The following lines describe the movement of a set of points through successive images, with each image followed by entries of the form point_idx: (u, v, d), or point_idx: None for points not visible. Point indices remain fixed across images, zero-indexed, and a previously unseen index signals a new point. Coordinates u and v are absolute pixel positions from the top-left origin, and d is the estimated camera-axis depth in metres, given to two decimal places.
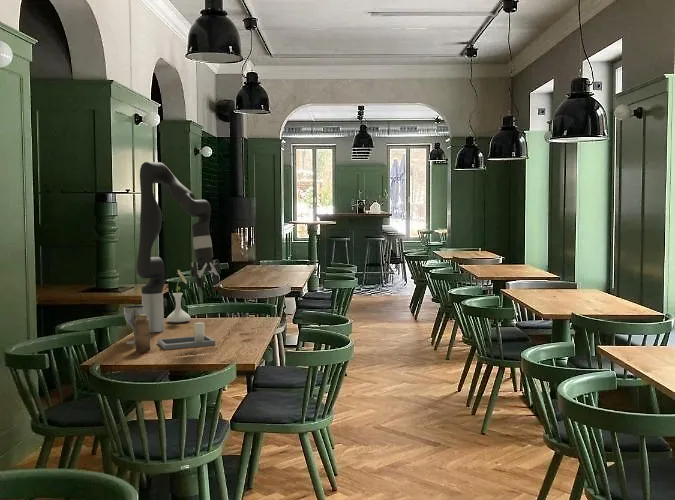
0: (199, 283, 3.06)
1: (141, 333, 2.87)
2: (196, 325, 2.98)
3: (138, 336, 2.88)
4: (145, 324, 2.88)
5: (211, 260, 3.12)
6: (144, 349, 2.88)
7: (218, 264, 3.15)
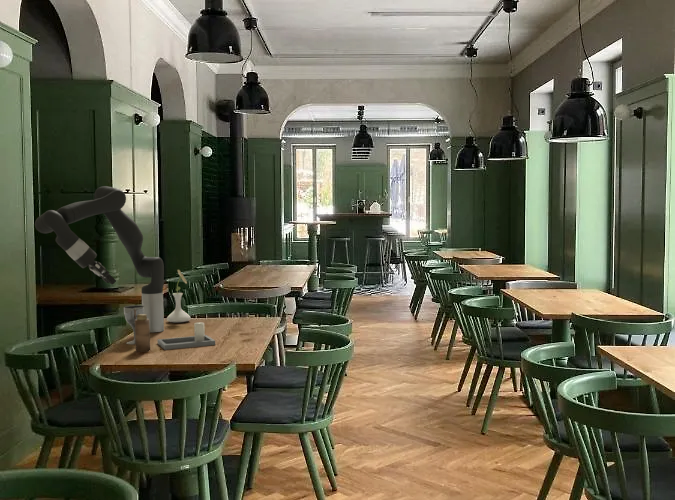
0: None
1: (141, 333, 2.87)
2: (196, 325, 2.98)
3: (138, 336, 2.88)
4: (145, 324, 2.88)
5: (91, 266, 2.82)
6: (144, 349, 2.88)
7: (97, 270, 2.80)
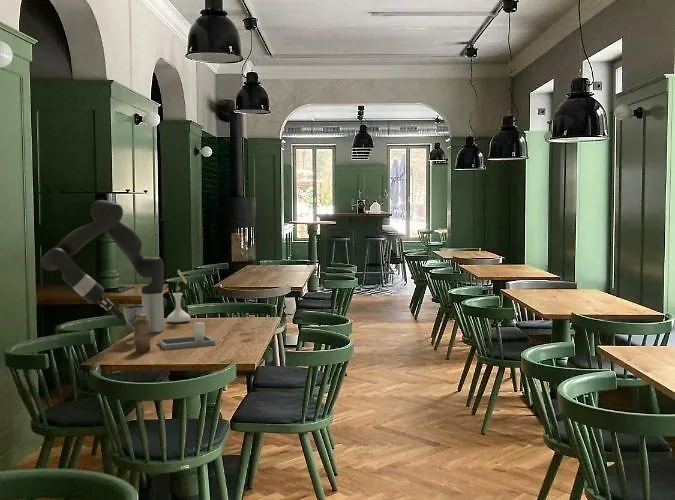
0: None
1: (141, 333, 2.87)
2: (196, 325, 2.98)
3: (138, 336, 2.88)
4: (145, 324, 2.88)
5: (99, 301, 2.80)
6: (144, 349, 2.88)
7: (104, 306, 2.78)
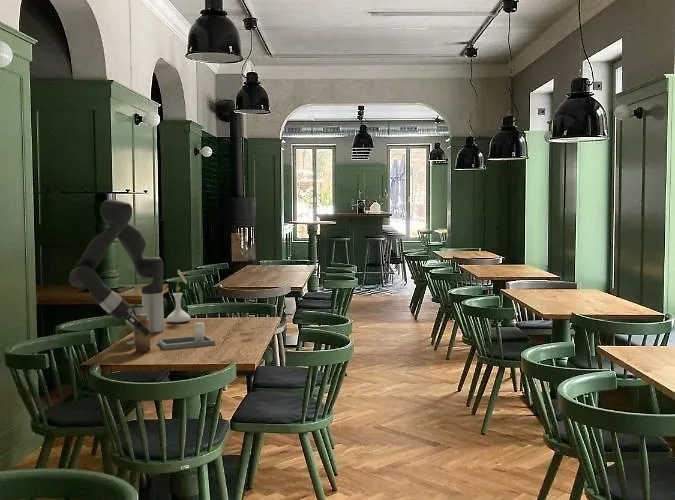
0: None
1: (141, 333, 2.87)
2: (196, 325, 2.98)
3: (138, 336, 2.88)
4: (145, 324, 2.88)
5: (125, 317, 2.84)
6: (144, 349, 2.88)
7: (131, 323, 2.82)
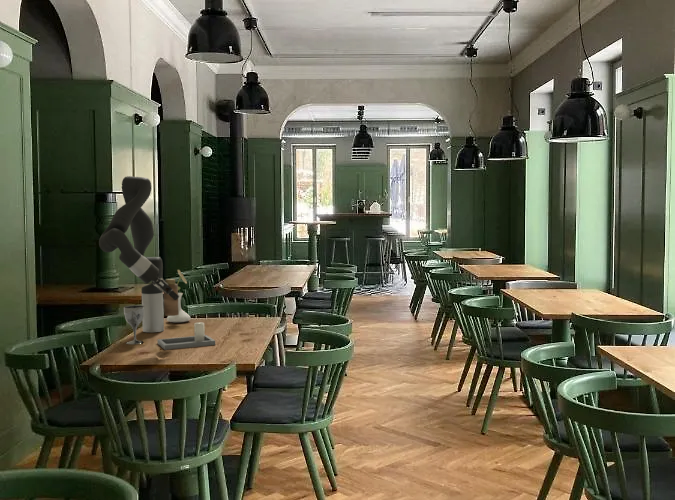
0: None
1: (170, 297, 2.91)
2: (196, 325, 2.98)
3: (167, 300, 2.91)
4: (174, 288, 2.92)
5: (154, 281, 2.88)
6: (173, 313, 2.92)
7: (161, 287, 2.86)
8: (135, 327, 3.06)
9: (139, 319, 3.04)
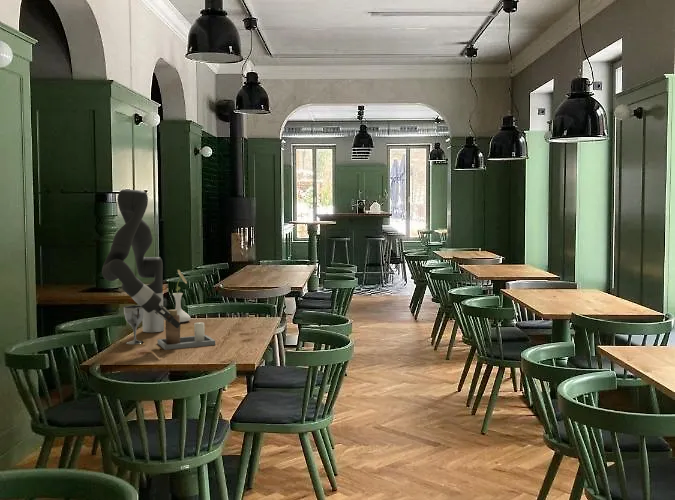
0: None
1: (172, 328, 2.92)
2: (196, 325, 2.98)
3: (169, 331, 2.92)
4: (176, 319, 2.93)
5: (156, 310, 2.89)
6: None
7: (162, 315, 2.87)
8: (135, 327, 3.06)
9: (139, 319, 3.04)
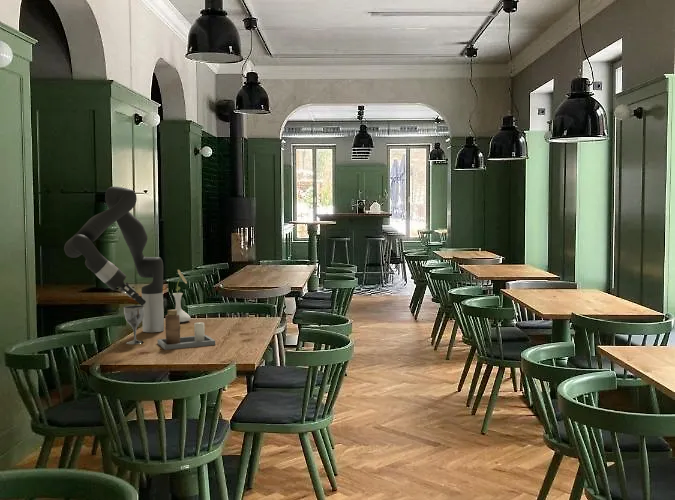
0: None
1: (172, 328, 2.92)
2: (196, 325, 2.98)
3: (169, 331, 2.92)
4: (176, 319, 2.93)
5: (121, 287, 2.83)
6: None
7: (126, 292, 2.81)
8: (135, 327, 3.06)
9: (139, 319, 3.04)
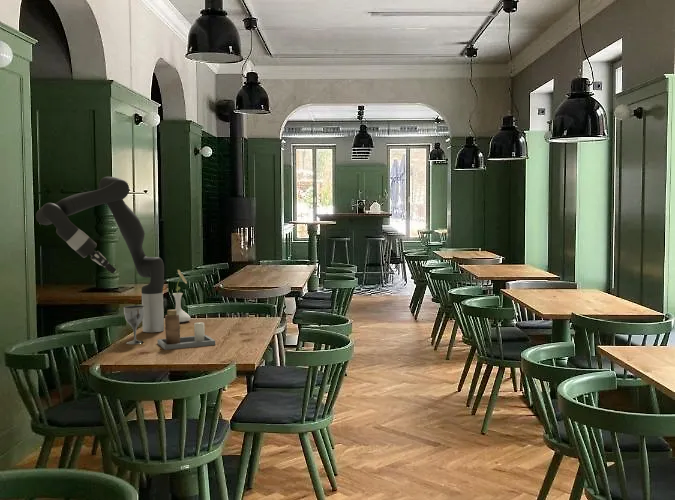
0: None
1: (172, 328, 2.92)
2: (196, 325, 2.98)
3: (169, 331, 2.92)
4: (176, 319, 2.93)
5: (91, 255, 2.89)
6: None
7: (96, 260, 2.87)
8: (135, 327, 3.06)
9: (139, 319, 3.04)
